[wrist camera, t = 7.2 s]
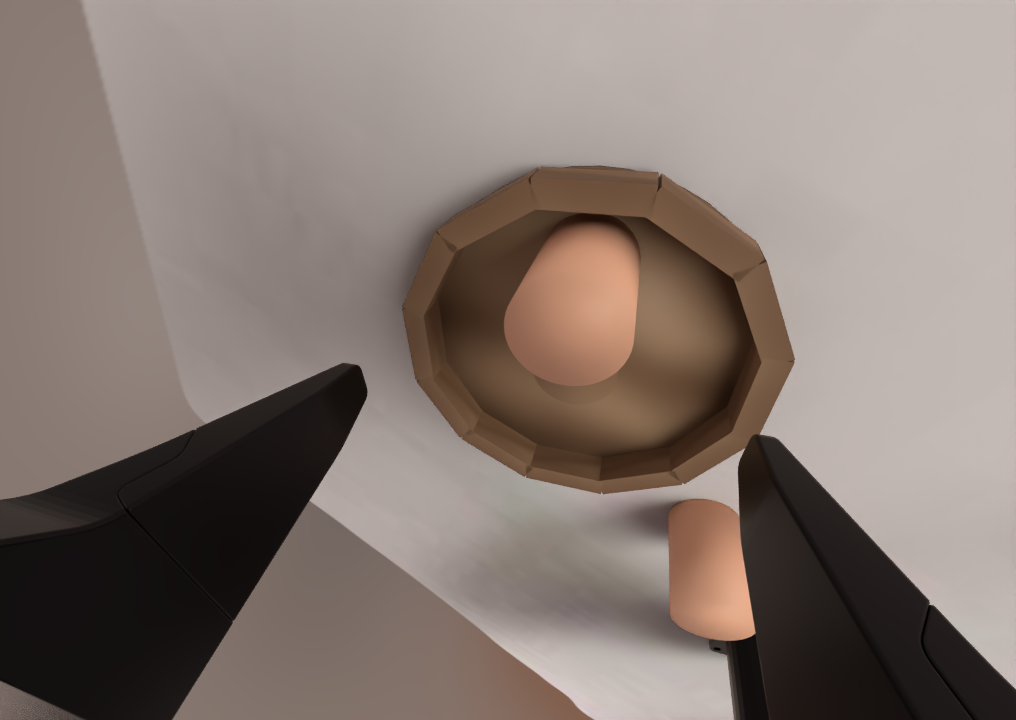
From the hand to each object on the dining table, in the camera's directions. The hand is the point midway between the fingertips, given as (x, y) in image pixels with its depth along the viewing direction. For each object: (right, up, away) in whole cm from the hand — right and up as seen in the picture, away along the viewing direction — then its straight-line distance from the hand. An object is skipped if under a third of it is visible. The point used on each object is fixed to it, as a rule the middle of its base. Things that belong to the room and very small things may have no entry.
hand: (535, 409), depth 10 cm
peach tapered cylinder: (+11, -8, +15) cm, 20 cm away
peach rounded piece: (+3, +5, +7) cm, 9 cm away
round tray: (+3, +2, +10) cm, 11 cm away
